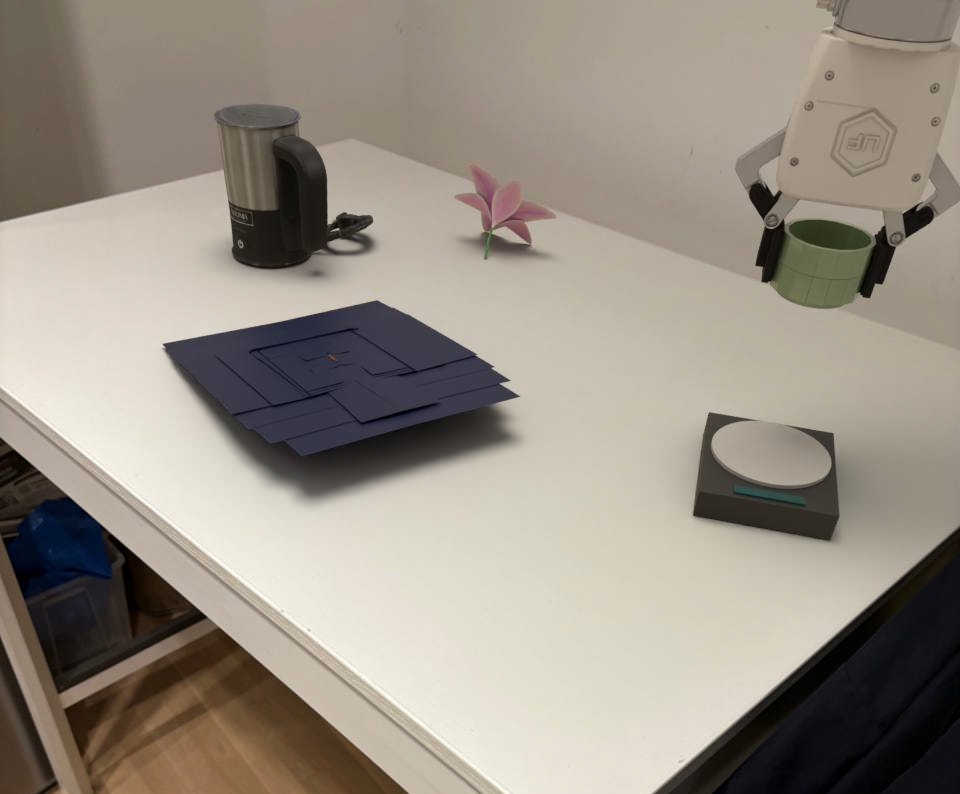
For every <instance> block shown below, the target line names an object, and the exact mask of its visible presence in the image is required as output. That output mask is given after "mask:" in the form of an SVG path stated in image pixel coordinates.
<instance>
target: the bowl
mask: <svg viewBox="0 0 960 794" xmlns="http://www.w3.org/2000/svg"><path fill="white" fill-rule="evenodd" d="M875 247H876V238H875V237H874V234H872V233H871V232H870V231H868V230H867V229H864V228H862V227H860V226H858V225H855V224H852V223H849V222H845V221H842V220H837V219H831V218H824V217H801V218H795V219H791V220H789V221H788V222H785V229H784V237H783V240H782V244H781V248H780V251H779V255H778V259H777V262H776V266H775V270H774V273H773V277H772V280H771V282H769V286H770V287H771V288H772V289H773V290H774V291H775V292H776V293H777V294H778V295H779V296H780V297H781V298H782V299H784V300H786V301H788V302H789V303H792V304H795V305H798V306H801V307H805V308H811V309H816V310H817V309H818V310H833V309H838V308H841V307H844V306H845V305H850V304H852V303H854V302H855V301H856V300H857V299H859V297H860V291H861V288H862V285H863V282H864V279H865V276H866V273H867V270H868V268H869V265H870V262H871V259H872V256H873V253H874V250H875Z"/></svg>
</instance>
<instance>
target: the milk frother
mask: <svg viewBox="0 0 960 794" xmlns="http://www.w3.org/2000/svg"><path fill="white" fill-rule="evenodd" d="M212 116H213V119H214V120H215V122H216V125H217V131H218V140H219V147H220V154H221V162H222V167H223V168H222V169H223V176H224V182H225V189H226V195H227V202H228V210H229V217H230V227H231V228H230V229H231V237H232V238H231V239H232V247H231V254H232V256H233V257H234V258H235V259H236V260H237V261H239V262H241V263H244V264H246V265H252V266H257V267H269V268H270V267H283V266H290V265H293V264H297V263H300V262H302V261H305V260H306V259H308V258H309V257H310V256H311V254H312V253H316V252H319V251H321V250H323V249H325V248H326V247H327V246H328V243H330V242H333V241H336V240H339V239H342V238H346V237H349V236H352V235H353V234H356V233H359V232H361V231H363V230H365V229H367V228H369V226H371V225H372V224H374V217H373V216H372V215H371V214H362V215H357V214H353V213H348V212H347V211H343V212H341V213H340V214H338V215H336V216H335V218H334V219H331V223H328V222H329V221H328V219H329V218H328V217H329V214H328V208H329V207H328V175H327V169H326V165H325V162H324V159H323V158H322V156H321V153H320V152H319V151H318V149H317V148H316V146H314V144H313V143H312V142H310V141H309V140H306V139H305V138H303V137H300V136H301V135H300V124H299V121H300V120H301V118H302V114H301V112H300V111H298V110H297V109H295V108H293V107H289V106H286V105H280V104H274V103H260V102H259V103H256V102H255V103H239V104H233V105H230V106H225V107H222V108H219V109H217V110H216V111H215V112H214V113H213V115H212Z"/></svg>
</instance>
